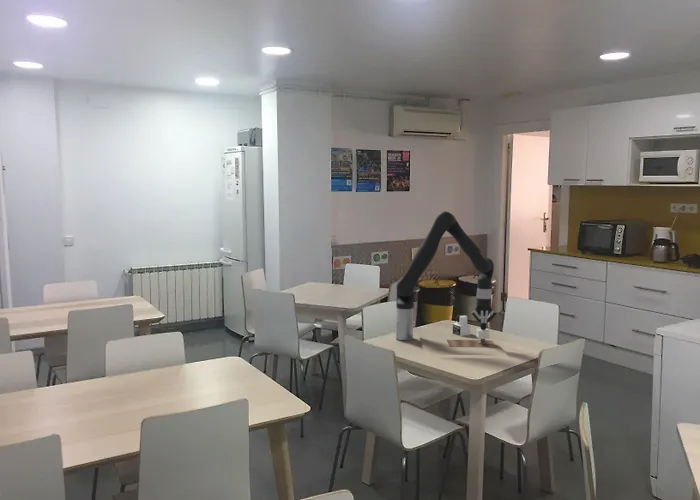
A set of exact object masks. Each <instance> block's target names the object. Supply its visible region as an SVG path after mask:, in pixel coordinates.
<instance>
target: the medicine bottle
mask: <svg viewBox="0 0 700 500" xmlns="http://www.w3.org/2000/svg"><path fill="white" fill-rule="evenodd" d="M455 319H456V321H455V322H454V323H452V334H453V335H457V336H459V337H462V336H471V328H472V327H471V324H469V323H468V315H464V314H457V315H456V317H455Z"/></svg>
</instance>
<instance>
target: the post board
mask: <svg viewBox="0 0 700 500" xmlns="http://www.w3.org/2000/svg"><path fill="white" fill-rule="evenodd" d="M446 342H447V344H448V346H449V347H450V348H490V349H491V348H498V346H497V345H496V344H495V343H494V341H493V340H491V339H490V340H489V339H446Z"/></svg>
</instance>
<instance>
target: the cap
mask: <svg viewBox="0 0 700 500" xmlns="http://www.w3.org/2000/svg"><path fill="white" fill-rule="evenodd" d="M475 335H476V338H477V340H481V339H485V340H489V339H490V330H489V329H488V328H486V329H485V330H482V329H481V328H480V327H479V328H478V327H476V334H475Z"/></svg>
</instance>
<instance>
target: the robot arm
mask: <svg viewBox="0 0 700 500" xmlns="http://www.w3.org/2000/svg"><path fill="white" fill-rule="evenodd" d="M445 232H447V233H449V234H450V235H451V236H452V237H453V239H454V240H455V241H456V242H457V244H458V245H459V247H460V248H461V250H462V251H463V253H465V255H466V256H467V257H468V259H470V262H471V263H472V265H473V266H474V268H475V269H476V271H478V272H479V273H480V275H479V276H478V278H477V283H476V284H477V285H476V287H477V288H476V303H475V304H476V307H475V310H473V311H471V312H470V313H471V315H472V316H473V317H474V318H475V320H476V321H477V323H479V324H480V326H479V328H481V329H482V330H485V329H487V323H490V322H491V321H492V320H493V319H494V317H496V316H497V313H496V311H494V310H493V309H492V301H493V300H492V299H493V298H492V294H493V293H492V292H493V291H492V279H493V276H494V270H495V266H494V265H495V264H494V262H493V259H491V258H490V257H489V258H488V257H487V258H486V257H485V258H484V257H483V255H482V250H481V249H480V247H478V245H477V244H476V243H475V242H474V241H473V239H472V238H471V237H470V236H468V235H467V233H466V232H465V231H464V230H463V228H462V227H461V225H460V224H459V222H458V220H457V219H456V217H455V216H454V215H453V214H452V213H451V212H449V211H441V212H439V213H438V215H436V218H435V219H434V222H433V223H432V227H431V228H430V231H429V232H428V234H427V235H426V236H425V238H424V239H423V241H422V243H421V244H420V245H419V247H418V248H417V250H416V252H415V254H414V256H413V258H412V260H411V262H410V265H409V267H408V269H407V270H406V272H405V274H404V275H403V277H402V278H400V279H399V280H398V281H397V283H396V305H395V306H396V312H395V314H396V315H395V316H396V320H395V339H396V340H397V341H398V340H399V341H412V340H413V339H414V297H415V296H414V292H415V291H414V289H415V287H416V284H417V283H418V281H419V279H420V278H421V276H422V274H423V273H424V272H425V271H426V270H427V268H428V267H429V266H430V263H431V262H432V261H433V259H434V257H435V255H436V253H437V252H438V249H439V245H440V242H441V240H442V238H443V236H444V234H445ZM477 315H478V316H479V317H478V316H477Z"/></svg>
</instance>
